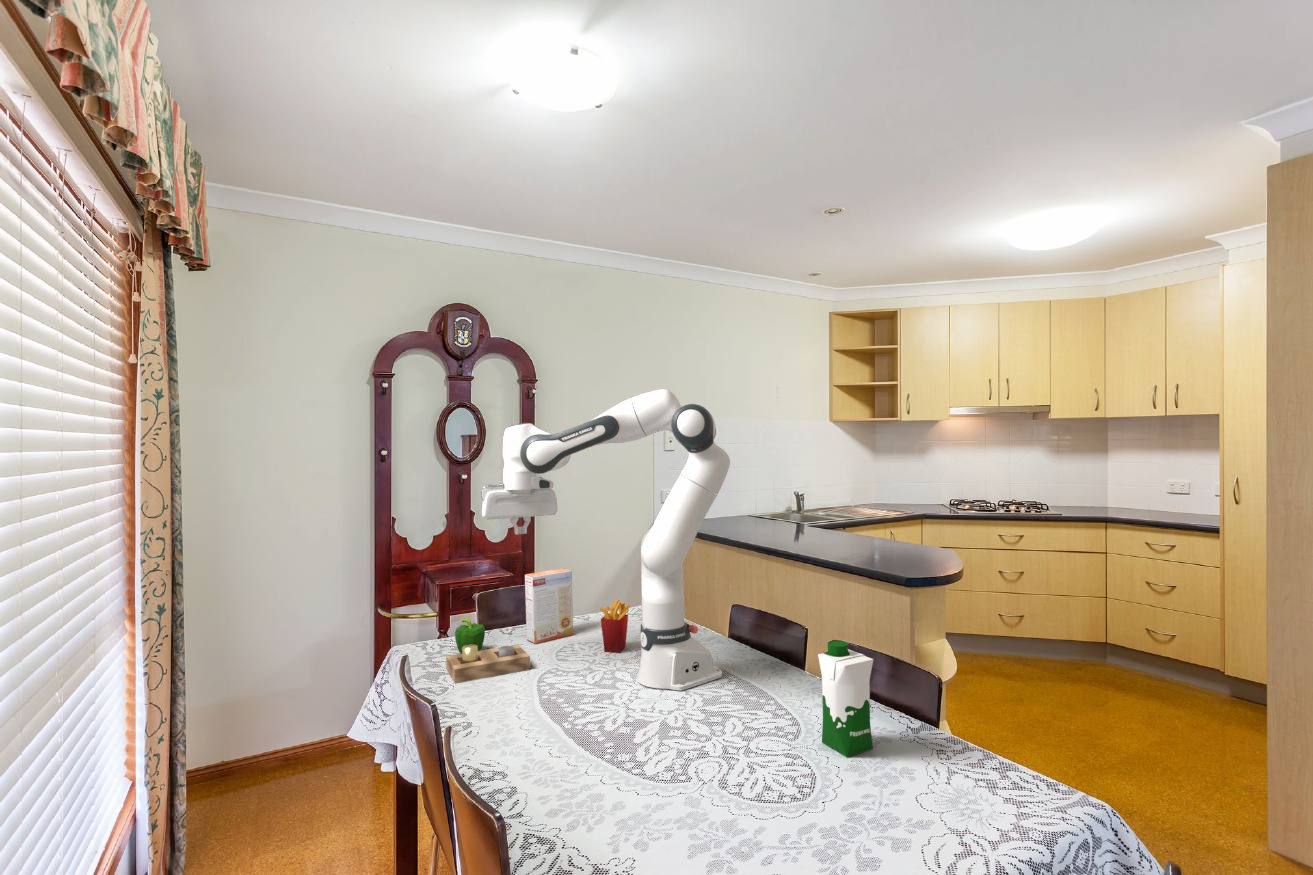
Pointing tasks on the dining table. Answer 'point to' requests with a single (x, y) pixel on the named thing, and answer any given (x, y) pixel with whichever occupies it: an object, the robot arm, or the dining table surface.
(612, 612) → the french fries
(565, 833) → the dining table surface
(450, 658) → the jig
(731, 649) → the dining table surface
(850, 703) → the milk carton
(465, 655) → the bushing
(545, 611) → the cracker box
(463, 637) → the bell pepper
